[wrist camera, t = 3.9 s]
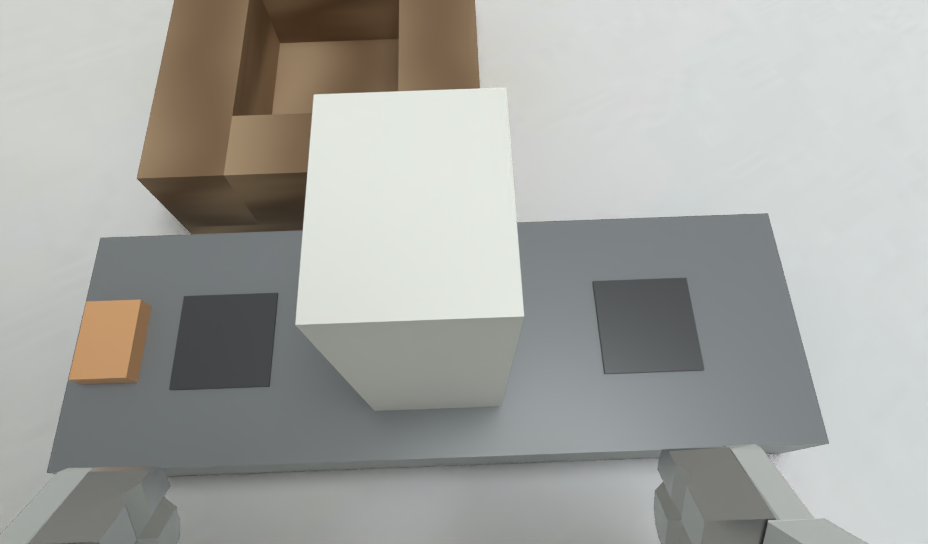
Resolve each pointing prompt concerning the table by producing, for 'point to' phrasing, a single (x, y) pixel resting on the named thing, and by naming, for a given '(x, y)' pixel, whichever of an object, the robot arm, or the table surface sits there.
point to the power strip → (447, 429)
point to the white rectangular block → (412, 246)
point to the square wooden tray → (281, 95)
